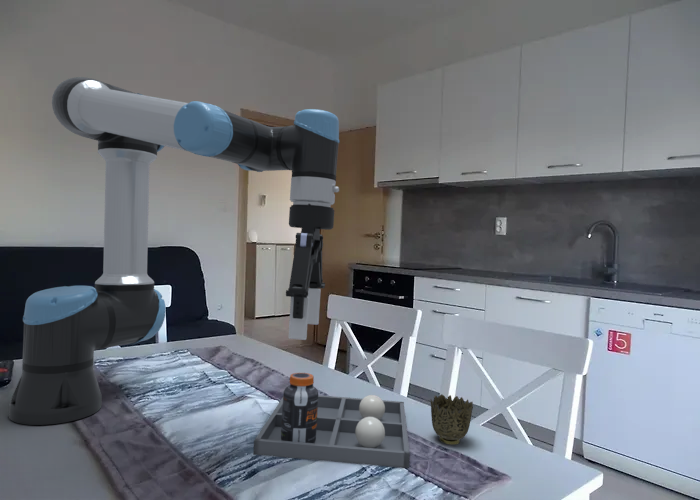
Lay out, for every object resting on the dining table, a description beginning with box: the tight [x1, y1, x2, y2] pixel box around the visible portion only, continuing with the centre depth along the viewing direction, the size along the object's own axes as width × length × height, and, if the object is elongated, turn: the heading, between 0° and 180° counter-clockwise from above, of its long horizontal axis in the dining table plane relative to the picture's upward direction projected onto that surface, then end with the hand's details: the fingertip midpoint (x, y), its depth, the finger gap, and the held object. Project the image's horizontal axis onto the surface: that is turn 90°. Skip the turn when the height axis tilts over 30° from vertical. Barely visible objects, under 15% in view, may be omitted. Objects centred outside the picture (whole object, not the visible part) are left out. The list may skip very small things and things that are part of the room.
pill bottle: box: [281, 372, 319, 443], centre depth 82 cm, size 6×6×11 cm
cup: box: [430, 394, 474, 446], centre depth 86 cm, size 8×7×8 cm
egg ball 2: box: [355, 417, 385, 448], centre depth 81 cm, size 5×5×5 cm
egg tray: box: [252, 394, 411, 469], centre depth 88 cm, size 24×24×3 cm
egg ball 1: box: [359, 394, 385, 420], centre depth 93 cm, size 5×5×5 cm
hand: (304, 331), depth 82 cm, fingers open, 13 cm apart
